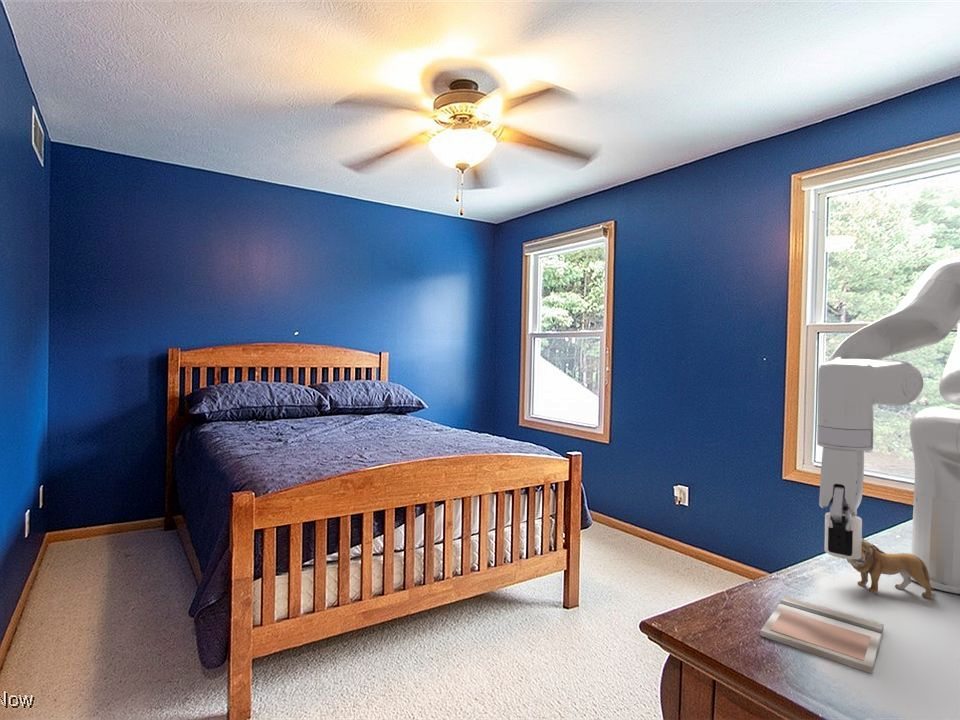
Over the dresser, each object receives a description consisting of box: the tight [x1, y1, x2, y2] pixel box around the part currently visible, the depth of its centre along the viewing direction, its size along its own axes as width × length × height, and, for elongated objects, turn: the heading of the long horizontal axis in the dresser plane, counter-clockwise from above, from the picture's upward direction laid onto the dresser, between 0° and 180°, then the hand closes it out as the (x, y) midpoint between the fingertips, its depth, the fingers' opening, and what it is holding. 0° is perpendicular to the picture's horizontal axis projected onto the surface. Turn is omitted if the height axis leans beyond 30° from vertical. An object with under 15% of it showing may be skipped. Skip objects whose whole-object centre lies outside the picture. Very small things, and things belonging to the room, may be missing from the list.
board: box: [759, 595, 885, 674], centre depth 79 cm, size 15×13×1 cm
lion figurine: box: [846, 537, 935, 599], centre depth 93 cm, size 15×5×9 cm, turn 86°
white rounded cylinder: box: [824, 511, 863, 560], centre depth 88 cm, size 5×5×6 cm
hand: (842, 547), depth 88 cm, fingers closed on white rounded cylinder, 4 cm apart
